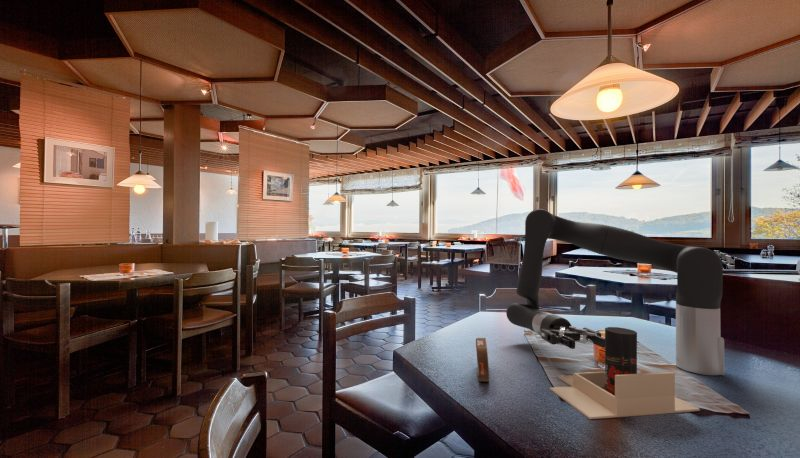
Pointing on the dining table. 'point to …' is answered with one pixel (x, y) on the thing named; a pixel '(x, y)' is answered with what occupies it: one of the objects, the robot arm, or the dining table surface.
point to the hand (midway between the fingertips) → (589, 344)
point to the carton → (622, 395)
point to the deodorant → (619, 355)
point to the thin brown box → (482, 360)
